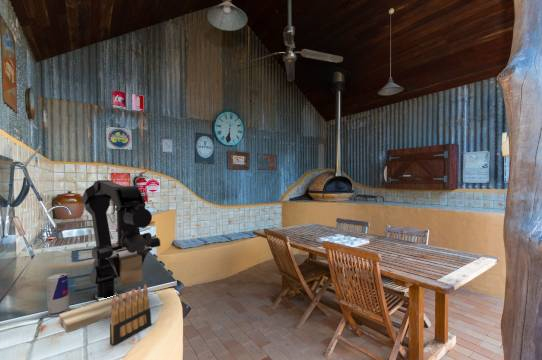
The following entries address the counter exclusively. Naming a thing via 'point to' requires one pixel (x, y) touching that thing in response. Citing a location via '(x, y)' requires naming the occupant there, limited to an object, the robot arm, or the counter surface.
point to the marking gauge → (130, 269)
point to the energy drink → (57, 294)
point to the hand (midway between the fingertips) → (129, 273)
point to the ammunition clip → (129, 316)
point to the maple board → (90, 313)
